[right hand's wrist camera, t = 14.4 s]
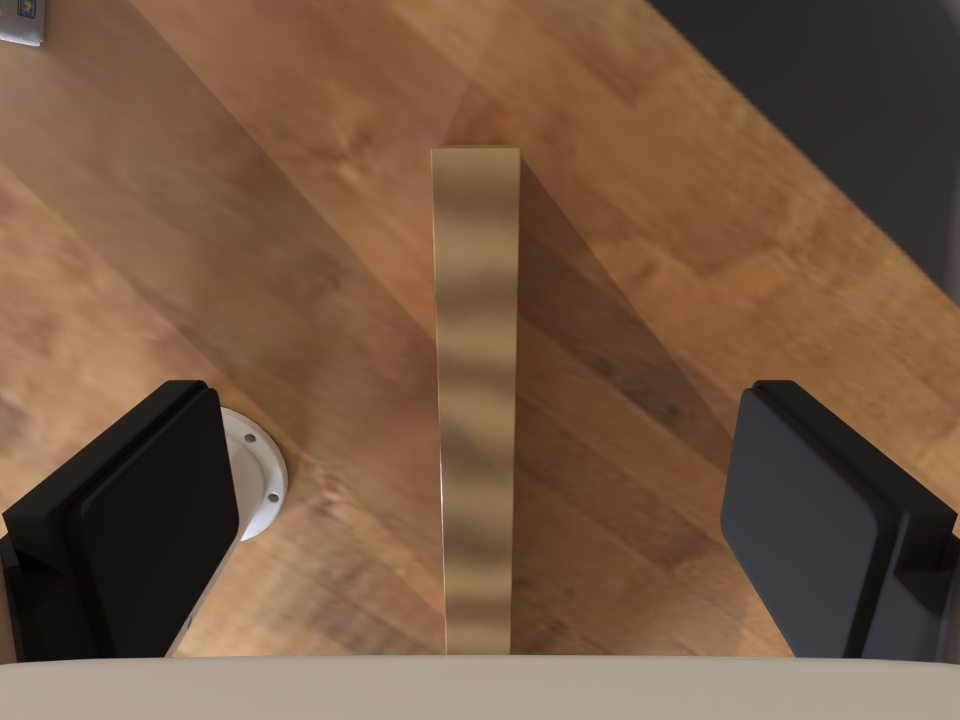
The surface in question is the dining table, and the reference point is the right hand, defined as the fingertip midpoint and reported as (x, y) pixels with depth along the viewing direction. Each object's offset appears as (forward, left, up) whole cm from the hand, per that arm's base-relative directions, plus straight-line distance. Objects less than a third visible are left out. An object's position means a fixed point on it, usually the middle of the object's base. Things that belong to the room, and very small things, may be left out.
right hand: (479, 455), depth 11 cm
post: (-17, -19, -33) cm, 42 cm away
